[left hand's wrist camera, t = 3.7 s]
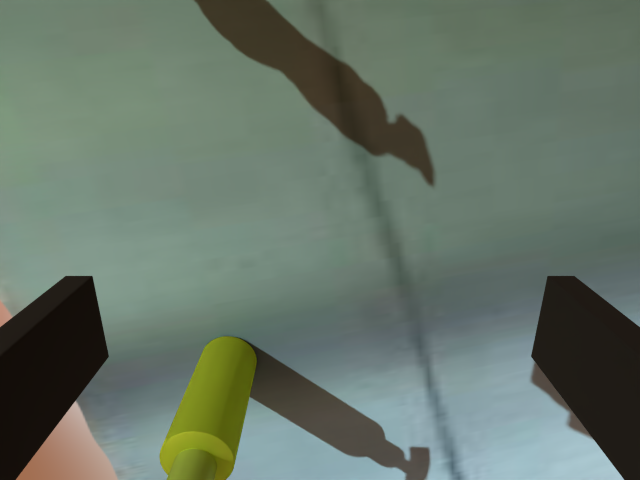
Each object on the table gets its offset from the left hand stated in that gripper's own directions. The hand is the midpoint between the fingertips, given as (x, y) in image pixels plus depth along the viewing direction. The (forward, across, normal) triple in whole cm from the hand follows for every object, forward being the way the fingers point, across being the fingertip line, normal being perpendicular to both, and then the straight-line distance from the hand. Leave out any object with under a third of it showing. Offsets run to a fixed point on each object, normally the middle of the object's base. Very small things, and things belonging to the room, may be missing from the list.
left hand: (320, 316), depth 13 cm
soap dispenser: (+28, +10, +21) cm, 36 cm away
